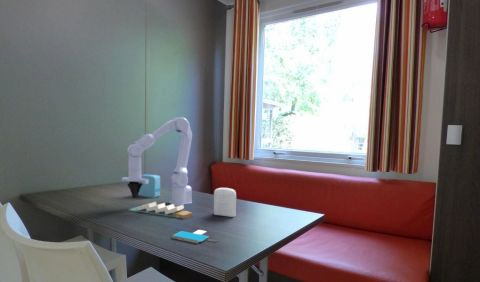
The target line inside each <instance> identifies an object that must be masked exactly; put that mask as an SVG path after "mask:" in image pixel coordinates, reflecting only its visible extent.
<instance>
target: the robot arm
mask: <svg viewBox="0 0 480 282" xmlns="http://www.w3.org/2000/svg"><path fill="white" fill-rule="evenodd" d="M190 123H191V122H190V121H189V120H188V119H187V118H185V117H183V116H180V117H173V118H172V119H171V120H168V121H167V122H166V123H164V124H163V125H162V126H160V127H159V128H158V129H156V130H155V131H154V132H152V133H147V134H143V135H142V136H141V138H140V139H138V140H135V141H134V143H132V144H130V145H129V146H128V147H127V150H126V151H127V154H128V177H127V176H125V177H123V176H122V177H121V182H125V183H126V182H127V184H126V185H127V187H128V189H129V190H130V192H131V197H132V198H133V199H136V198H139V195H140V194H139V191H140V188H141V186H142V185H143V183H144V184H148V183H149V179H144V178H141V175H142V154H143V152H145V151H147V150H148V149H149V148H150V147H151V146H153V145H154V144H155V143H156V140H157V139H158V138H160V137H162V136H164V134H166V133H167V132H169V131H176V132H177V133H178V134H179V135H180V136H181V140H180V143H179V150H178V155H177V162H176V167H175V168H174V169H173V173H172V175H171V177H170V181H171V183H172V186H171V188H172V189H171V191H172V195H171V199H172V200H171V201H169V203H170V205H172V204H174V207H177V206H180V205H183V206H184V205H188V204H193V199H192V196H193V195H192V193H193V190H192V187H191V186H190V185H188V183H189V178H188V169H187V167H188V162H189V161H188V160H189V157H190V151H191V146H192V139H193V132H192V129H191V126H190Z"/></svg>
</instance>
